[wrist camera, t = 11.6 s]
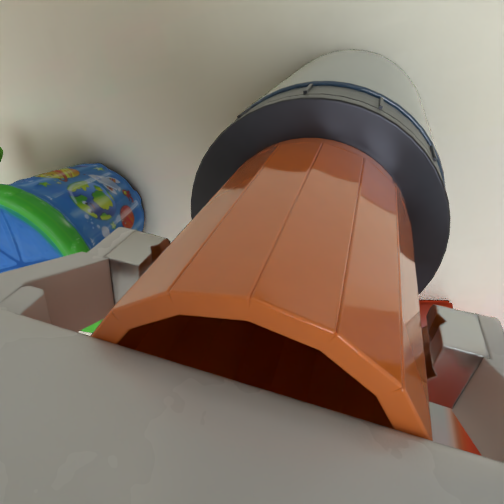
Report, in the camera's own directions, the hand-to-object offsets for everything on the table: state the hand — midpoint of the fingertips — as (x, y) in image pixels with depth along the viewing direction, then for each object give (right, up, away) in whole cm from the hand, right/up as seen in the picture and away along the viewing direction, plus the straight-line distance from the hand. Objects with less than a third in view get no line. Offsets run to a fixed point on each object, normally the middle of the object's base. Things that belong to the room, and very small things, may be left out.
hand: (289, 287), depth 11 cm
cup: (+1, +2, +3) cm, 3 cm away
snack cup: (-13, +5, +22) cm, 26 cm away
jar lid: (+1, +2, +3) cm, 4 cm away
